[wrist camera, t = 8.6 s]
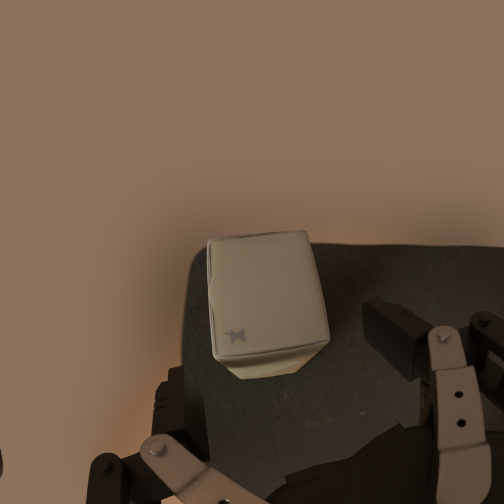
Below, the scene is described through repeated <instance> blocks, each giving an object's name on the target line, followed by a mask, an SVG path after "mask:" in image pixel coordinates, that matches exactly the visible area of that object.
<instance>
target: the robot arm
mask: <svg viewBox="0 0 504 504" xmlns="http://www.w3.org/2000/svg"><path fill="white" fill-rule="evenodd" d="M362 317H363V332H364V336H365V338H366V340H367V342H368V343H369V344H370V345H371V346H372V347H373V348H374V349H375V350H376V351H378V352H379V353H380V354H381V355H382V356H383V357H384V358H385V359H386V360H387V361H388V362H389V363H390V364H391V365H392V366H393V367H394V368H395V369H397V370H398V371H399V372H400V373H401V374H402V375H403V376H404V377H405V378H406V379H407V380H408V381H409V382H411V381H412V380H414V379H415V378H417V377H419V378H420V379H421V381H420V419H419V424H418V426H413V427H409V428H406V429H404V428H403V427H402V425H401V424H400V423H399V424H397V425H396V426H394V427H392V428H391V429H389V430H387V431H386V432H384V433H382V434H380V435H379V436H377V437H375V438H374V439H373V440H371V441H370V442H369V443H368V444H367V445H365V446H364V447H363V448H362V449H361V450H359V451H358V452H357V453H356V454H354V455H353V456H352V457H350V458H348V459H344V460H339V461H335V462H330V463H325V464H320V465H315V466H312V467H310V468H307V469H304V470H302V471H299V472H296V473H293V474H290V475H287V476H285V479H286V482H287V483H286V484H284V485H282V486H281V487H279V488H278V489H276V490H275V491H274V492H273V493H271V494H270V495H269V496H268V497H267V498H266V499H265V500H262V499H261V498H259V497H257V496H255V495H254V494H252V493H250V492H249V491H247V490H246V489H244V488H242V487H241V486H239V485H238V484H236V483H235V482H233V481H232V480H230V479H229V478H227V477H226V476H224V475H223V474H221V473H220V472H219V471H217V470H216V469H214V468H213V467H211V466H209V467H208V466H207V465H205V464H204V463H203V462H208V461H210V453H209V446H208V437H207V429H206V420H205V410H204V401H203V397H202V394H201V391H200V389H199V387H198V385H197V383H196V382H195V380H194V378H193V376H192V374H191V372H190V370H189V368H188V366H187V365H182V366H178V367H174V368H170V369H169V371H168V381H165V382H161V384H160V385H159V387H158V389H157V390H156V394H155V403H154V413H153V422H152V433H151V437H149V438H148V439H147V440H145V441H144V442H143V444H142V446H141V448H140V452H138V453H136V454H133V455H131V456H128V457H125V458H122V459H120V458H119V457H118V456H117V455H115V454H113V453H103V454H101V455H99V456H97V457H96V458H95V459H94V460H93V462H92V464H91V467H90V474H89V481H88V489H87V499H86V504H161V500H162V499H165V498H168V497H170V496H173V495H175V496H176V497H177V498H178V499H179V500H180V501H181V502H182V503H183V504H504V432H496V431H485V428H484V419H483V411H482V405H481V398H480V393H479V391H480V392H481V393H482V394H484V395H485V396H486V397H487V398H488V399H489V400H490V401H491V402H492V403H493V404H494V405H495V406H496V407H497V408H498V409H499V410H500V411H502V412H503V413H504V369H502V368H501V367H500V366H499V365H497V364H496V363H495V362H493V361H492V360H491V359H490V358H488V357H489V354H490V351H492V352H493V353H495V354H496V355H497V356H499V357H500V358H501V359H502V360H503V361H504V320H502V319H501V318H499V317H498V316H496V315H494V314H492V313H490V312H487V311H480V312H477V313H475V314H473V315H472V317H471V320H470V325H469V326H467V327H464V328H461V329H459V330H456V329H455V328H453V327H451V326H445V325H443V326H437V327H433V326H432V325H430V324H429V323H427V322H426V321H424V320H423V319H421V318H419V317H418V316H416V315H414V314H413V313H412V312H410V311H408V310H407V309H406V308H404V307H402V306H401V305H398V304H394V303H387V302H385V301H384V300H382V299H381V298H379V297H376V298H374V299H372V300H369V301H367V302H365V303H363V305H362Z"/></svg>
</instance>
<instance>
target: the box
mask: <svg viewBox="0 0 504 504" xmlns="http://www.w3.org/2000/svg"><path fill="white" fill-rule="evenodd" d="M207 276H208V296H209V313H210V325H211V337H212V348H213V356H214V358H215V359H216V360H217V361H219V362H220V363H221V364H222V365H224V366H225V367H226V368H227V369H229V370H230V371H231V372H232V373H234V374H235V375H236V376H237V377H239V378H240V379H251V378H262V377H271V376H277V375H284V374H289V373H294V372H296V371H297V370H298V369H300V368H301V367H302V366H303V365H304V364H305V363H306V362H308V361H309V360H310V359H311V358H312V357H313V356H314V355H316V354H317V353H318V352H319V351H320V350H321V349H322V348H323V347H324V346H325V345H326V344H327V343H329V341H330V332H329V326H328V320H327V314H326V309H325V304H324V299H323V294H322V289H321V285H320V280H319V276H318V272H317V268H316V264H315V260H314V256H313V253H312V249H311V245H310V242H309V239H308V234H307V232H306V231H304V230H299V231H285V232H269V233H259V234H248V235H237V236H229V237H220V238H212V239H210V240H209V241H208V243H207Z"/></svg>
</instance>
